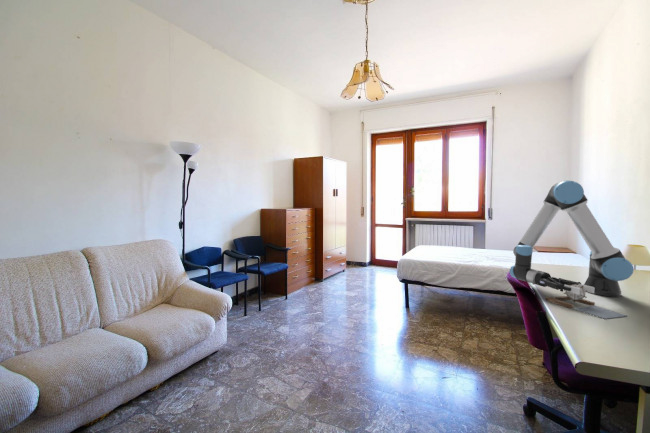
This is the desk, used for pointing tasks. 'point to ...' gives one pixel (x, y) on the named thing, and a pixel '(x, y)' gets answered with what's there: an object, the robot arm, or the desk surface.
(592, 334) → the desk surface
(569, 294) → the game die
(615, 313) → the mat
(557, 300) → the open frame
